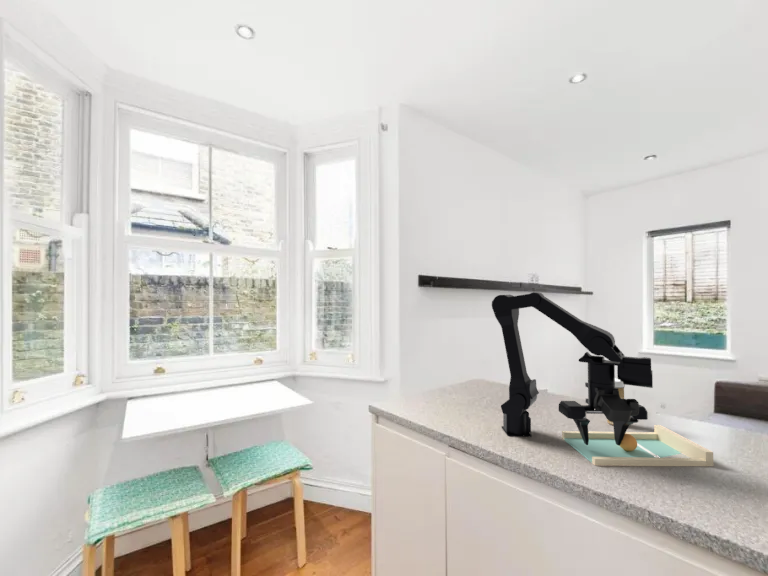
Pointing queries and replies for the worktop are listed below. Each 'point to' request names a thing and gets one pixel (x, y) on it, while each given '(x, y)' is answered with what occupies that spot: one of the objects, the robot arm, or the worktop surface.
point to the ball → (628, 443)
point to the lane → (640, 449)
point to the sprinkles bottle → (621, 391)
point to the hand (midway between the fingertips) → (602, 444)
